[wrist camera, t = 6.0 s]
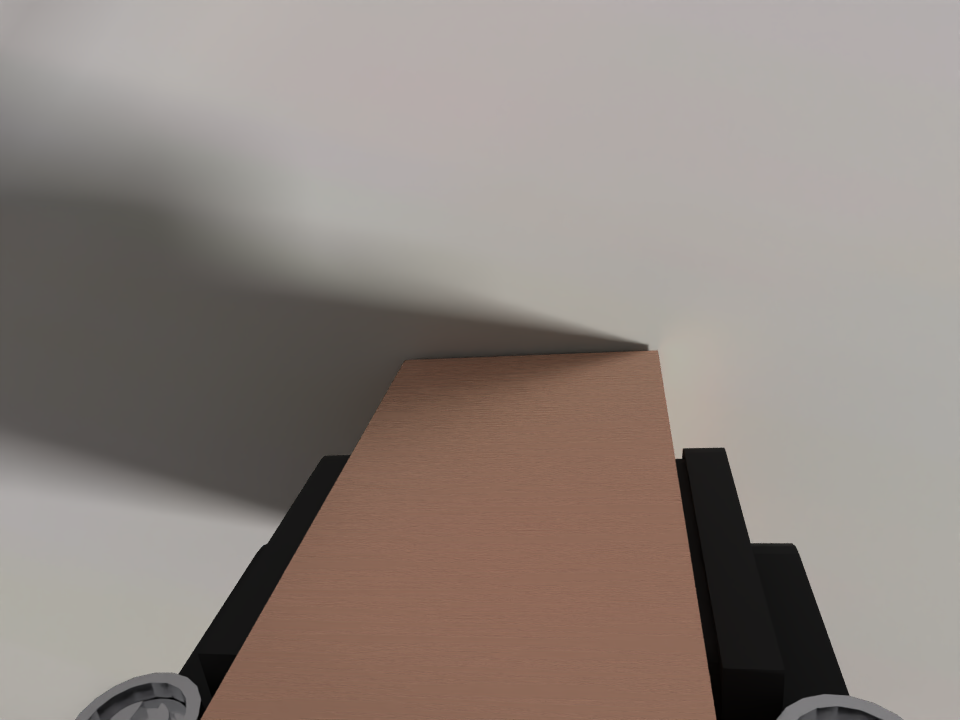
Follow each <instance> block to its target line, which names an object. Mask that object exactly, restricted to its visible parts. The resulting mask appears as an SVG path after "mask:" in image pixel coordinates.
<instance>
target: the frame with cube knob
mask: <svg viewBox="0 0 960 720" xmlns="http://www.w3.org/2000/svg"><path fill="white" fill-rule="evenodd" d="M201 720H716V714H715V707H714V701H713V695H712V688H711V682H710V676H709V670H708V663H707V657H706V651H705V644H704V638H703V632H702V626H701V619H700V613H699V607H698V600H697V594H696V588H695V581H694V575H693V569H692V563H691V556H690V550H689V544H688V537H687V531H686V525H685V519H684V512H683V506H682V500H681V493H680V487H679V481H678V475H677V468H676V462H675V456H674V449H673V443H672V437H671V431H670V424H669V418H668V412H667V405H666V399H665V393H664V387H663V380H662V374H661V368H660V361H659V355H658V350H657V351H631V352H605V353H579V354H553V355H527V356H501V357H475V358H449V359H422V360H405V361H404V363H403V365H402V366H401V368H400V370H399V372H398V373H397V375H396V377H395V379H394V380H393V382H392V384H391V386H390V387H389V389H388V391H387V393H386V394H385V396H384V398H383V400H382V401H381V403H380V405H379V407H378V409H377V410H376V412H375V414H374V416H373V417H372V419H371V421H370V423H369V424H368V426H367V428H366V430H365V431H364V433H363V435H362V437H361V438H360V440H359V442H358V444H357V445H356V447H355V449H354V451H353V452H352V454H351V456H350V458H349V459H348V461H347V463H346V465H345V466H344V468H343V470H342V472H341V474H340V475H339V477H338V479H337V481H336V482H335V484H334V486H333V488H332V489H331V491H330V493H329V495H328V496H327V498H326V500H325V502H324V503H323V505H322V507H321V509H320V510H319V512H318V514H317V516H316V517H315V519H314V521H313V523H312V524H311V526H310V528H309V530H308V532H307V533H306V535H305V537H304V539H303V540H302V542H301V544H300V546H299V547H298V549H297V551H296V553H295V554H294V556H293V558H292V560H291V561H290V563H289V565H288V567H287V568H286V570H285V572H284V574H283V575H282V577H281V579H280V581H279V582H278V584H277V586H276V588H275V589H274V591H273V593H272V595H271V597H270V598H269V600H268V602H267V604H266V605H265V607H264V609H263V611H262V612H261V614H260V616H259V618H258V619H257V621H256V623H255V625H254V626H253V628H252V630H251V632H250V633H249V635H248V637H247V639H246V640H245V642H244V644H243V646H242V647H241V649H240V651H239V653H238V655H237V656H236V658H235V660H234V662H233V663H232V665H231V667H230V669H229V670H228V672H227V674H226V676H225V677H224V679H223V681H222V683H221V684H220V686H219V688H218V690H217V691H216V693H215V695H214V697H213V698H212V700H211V702H210V704H209V705H208V707H207V709H206V711H205V712H204V714H203V716H202V718H201Z"/></svg>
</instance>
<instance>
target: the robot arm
mask: <svg viewBox="0 0 960 720" xmlns="http://www.w3.org/2000/svg"><path fill="white" fill-rule="evenodd" d="M350 456H351V455H337V456H324V457H323V458H322V459H321V461H320V462H319V464H318V465H317V467H316V468H315V470H314V472H313V473H312V475H311V476H310V478H309V479H308V481H307V483H306V484H305V486H304V487H303V489H302V490H301V492H300V494H299V495H298V497H297V498H296V500H295V501H294V503H293V505H292V506H291V508H290V509H289V511H288V512H287V514H286V516H285V517H284V519H283V520H282V522H281V523H280V525H279V527H278V528H277V530H276V531H275V533H274V534H273V536H272V538H271V539H270V541H269V542H268V544H266V545H263V546H262V547H261V549H260V550H259V551H258V552H257V553H256V555H255V556H254V558H253V560H252V561H251V563H250V564H249V566H248V567H247V569H246V570H245V572H244V574H243V575H242V577H241V578H240V580H239V581H238V583H237V584H236V586H235V587H234V589H233V591H232V592H231V594H230V595H229V597H228V598H227V600H226V601H225V603H224V605H223V606H222V608H221V609H220V611H219V612H218V614H217V615H216V617H215V618H214V620H213V622H212V623H211V625H210V626H209V628H208V629H207V631H206V632H205V634H204V636H203V637H202V639H201V640H200V642H199V643H198V645H197V646H196V648H195V649H194V651H193V653H192V654H191V656H190V657H189V659H188V660H187V662H186V663H185V665H184V667H183V668H182V670H181V671H180V673H179V674H175V673H152V674H147V675H143V676H139V677H135V678H132V679H130V680H128V681H125V682H123V683H121V684H119V685H116V686H114V687H113V688H111V689H110V690H108V691H107V692H105V693H103V694H102V695H100V696H99V697H97V698H96V699H95V700H94V701H93V702H92V703H90V704H89V705H88V706H87V707H86V708H85V709H84V710H83V711H82V712H81V713H80V714H79V715H78V717H77V718H76V719H75V720H201V718H202V716H203V714H204V712H205V711H206V709H207V707H208V705H209V704H210V702H211V700H212V698H213V697H214V695H215V693H216V691H217V690H218V688H219V686H220V684H221V683H222V681H223V679H224V677H225V676H226V674H227V672H228V670H229V669H230V667H231V665H232V663H233V662H234V660H235V658H236V656H237V655H238V653H239V651H240V649H241V647H242V646H243V644H244V642H245V640H246V639H247V637H248V635H249V633H250V632H251V630H252V628H253V626H254V625H255V623H256V621H257V619H258V618H259V616H260V614H261V612H262V611H263V609H264V607H265V605H266V604H267V602H268V600H269V598H270V597H271V595H272V593H273V591H274V589H275V588H276V586H277V584H278V582H279V581H280V579H281V577H282V575H283V574H284V572H285V570H286V568H287V567H288V565H289V563H290V561H291V560H292V558H293V556H294V554H295V553H296V551H297V549H298V547H299V546H300V544H301V542H302V540H303V539H304V537H305V535H306V533H307V532H308V530H309V528H310V526H311V524H312V523H313V521H314V519H315V517H316V516H317V514H318V512H319V510H320V509H321V507H322V505H323V503H324V502H325V500H326V498H327V496H328V495H329V493H330V491H331V489H332V488H333V486H334V484H335V482H336V481H337V479H338V477H339V475H340V474H341V472H342V470H343V468H344V466H345V465H346V463H347V461H348V459H349V458H350ZM675 462H676V468H677V475H678V481H679V487H680V493H681V500H682V506H683V512H684V519H685V525H686V531H687V537H688V544H689V550H690V556H691V563H692V569H693V575H694V581H695V588H696V594H697V600H698V607H699V613H700V619H701V626H702V632H703V638H704V644H705V651H706V657H707V663H708V670H709V676H710V682H711V688H712V695H713V701H714V707H715V714H716V720H903V719H902V718H901V717H899V716H898V715H897V714H895V713H893V712H891V711H889V710H887V709H885V708H883V707H881V706H879V705H877V704H875V703H873V702H869V701H866V700H862V699H859V698H855V697H851V696H849V693H848V690H847V687H846V685H845V682H844V679H843V676H842V673H841V670H840V668H839V665H838V662H837V659H836V656H835V654H834V651H833V648H832V645H831V642H830V640H829V637H828V634H827V631H826V628H825V625H824V623H823V620H822V617H821V614H820V611H819V609H818V606H817V603H816V600H815V597H814V595H813V592H812V589H811V586H810V583H809V581H808V578H807V575H806V572H805V569H804V566H803V564H802V561H801V558H800V555H799V553H798V551H797V548H796V546H795V545H793V544H792V543H750V539H749V536H748V532H747V528H746V524H745V521H744V517H743V513H742V510H741V506H740V502H739V499H738V495H737V491H736V488H735V484H734V480H733V477H732V473H731V469H730V466H729V462H728V458H727V454H726V451H725V448H684V449H683V453H682V459H675Z"/></svg>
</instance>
